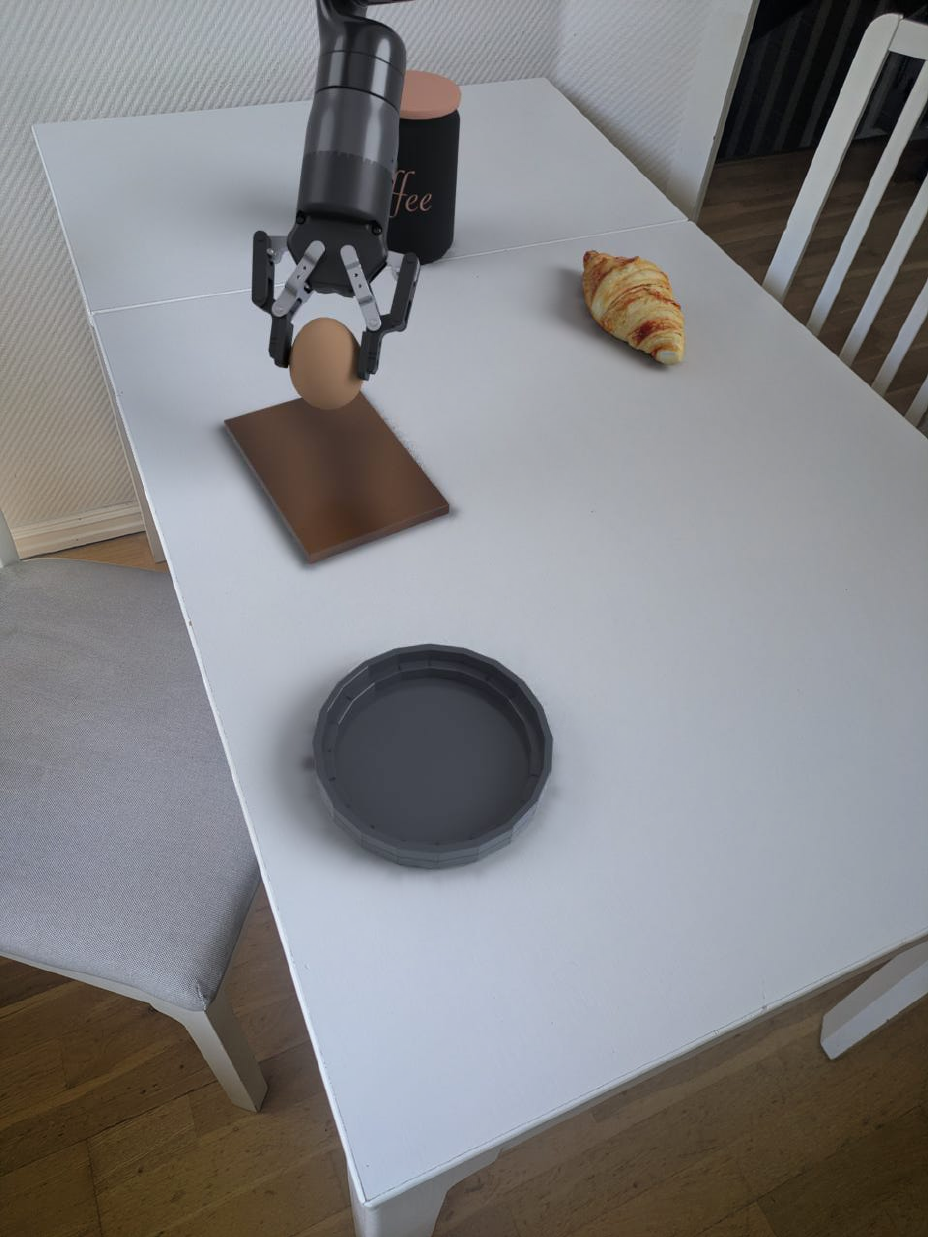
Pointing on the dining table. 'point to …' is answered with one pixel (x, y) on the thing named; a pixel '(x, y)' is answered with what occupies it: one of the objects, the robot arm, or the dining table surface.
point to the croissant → (634, 304)
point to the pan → (432, 755)
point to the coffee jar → (425, 168)
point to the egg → (325, 364)
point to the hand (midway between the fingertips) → (322, 372)
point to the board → (334, 474)
